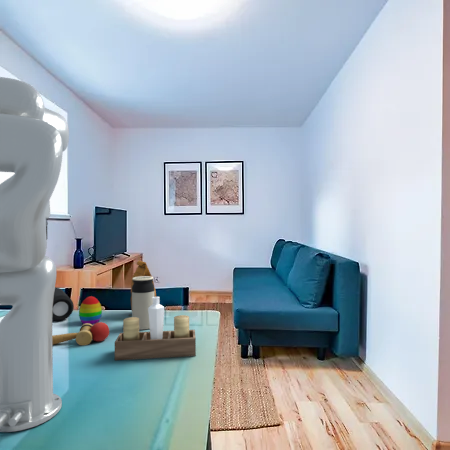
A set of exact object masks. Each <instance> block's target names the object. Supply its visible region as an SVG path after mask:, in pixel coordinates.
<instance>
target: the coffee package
mask: <svg viewBox="0 0 450 450" xmlns="http://www.w3.org/2000/svg"><path fill="white" fill-rule="evenodd" d="M136 265H138V266H137V268H136V270H135V271H134V273H133V275H132V276H131V279H130V280H131V282H130V283H131V284H130V285H131V286H130V307H131V308H130V309H132V286H133V284H134V282H133V278H134V277H139V276H151V277H153V275H152V274H151V272H150V270H149V267H148V265H147V262H145V261H142V260H138V261H137V262H136ZM152 283H153V285H154V297H157V293H156V292H157V291H156V287H155V282H154V280H153V281H152Z"/></svg>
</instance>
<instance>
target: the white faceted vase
mask: <svg viewBox="0 0 450 450" xmlns="http://www.w3.org/2000/svg"><path fill="white" fill-rule="evenodd" d="M160 298H161V297H160V296H156V297H153V304H152V305H151V306H150V307H149V308H148V313H149V325H150V329H149V332H150V337H151V339H162V337H163V331H164V320H165V319H164V315H165V306H163V305H162V304H160Z"/></svg>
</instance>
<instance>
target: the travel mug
mask: <svg viewBox="0 0 450 450" xmlns="http://www.w3.org/2000/svg"><path fill="white" fill-rule="evenodd" d="M151 276H152V275H151ZM151 276H139V277H134V278H133V282H134V284H133V286H132V308H131V317H136V318H139V331H145V330H150V325H149V313H148V308H149V307H150V306H151V305H152V304H153V297H154V287H155V284H154V285H153V283H152V281H153V282H154V277H153V276H152V277H151Z"/></svg>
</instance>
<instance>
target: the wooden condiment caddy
mask: <svg viewBox="0 0 450 450" xmlns="http://www.w3.org/2000/svg"><path fill="white" fill-rule="evenodd" d="M122 323H123V325H122V326H123V328H122V329H123V330H122V331H123V332H119V334H118V336H117V338H116V339H115V341H114V361H128V360H146V359H148V360H149V359H165V358H182V357H196V356H197V355H196V354H197V353H196V351H197V348H196V342H197V341H196V330H195V329H190V316H188V315H186V314H185V315H183V314H182V315H176V316H174V317H173V330H163V337H162V339H151V337H150V331H140V330H139V318H136V317H132V316H131V317H126V318H124V319H123V321H122Z"/></svg>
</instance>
